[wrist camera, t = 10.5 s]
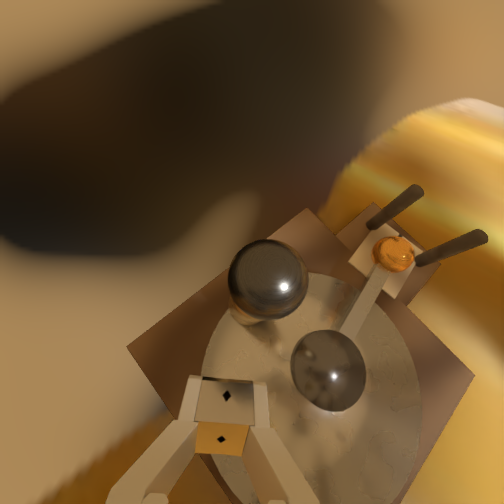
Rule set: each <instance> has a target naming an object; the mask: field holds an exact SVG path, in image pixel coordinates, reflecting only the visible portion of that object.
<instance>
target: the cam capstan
mask: <svg viewBox="0 0 504 504" xmlns="http://www.w3.org/2000/svg"><path fill="white" fill-rule="evenodd" d="M414 256H415V253H414V249H413V247H412V245H411V244H410V243H409V242H408V241H407V240H405V239H404V238H401V237H398V236H387V237H384V238H382V239H380V240H379V241H377V242H376V243H375V244H374V246H373V248H372V251H371V258H372V261H373V263H374V265H373V267H372V268H371V270H370V272H369V273H368V275H367V277H366V278H365V280H364V282H363V284H362V285H361V287H360V289H359V290H358V289H357V288H355V287H353V286H352V285H350V284H348V283H346V282H344V281H341V280H339V279H336V278H333V277H331V276H326V275H322V274H317V273H308V270H307V267H306V264H305V262H304V260H303V258H302V257H301V256H300V254H299V253H298V252H297V251H296V250H295V249H294V248H293V247H291V246H290V245H288V244H286V243H284V242H281V241H278V240H273V239H263V240H257V241H254V242H252V243H250V244H248V245H246V246H245V247H243V248H242V249H241V250H240V251H239V252H238V253H237V254H236V255H235V257H234V259H233V260H232V262H231V265H230V267H229V271H228V288H229V292H230V299H229V309H228V310H227V311H226V313H225V314H224V315H223V317H222V318H221V320H220V321H219V323H218V325H217V327H216V328H215V330H214V332H213V334H212V336H211V339H210V342H209V344H208V347H207V349H206V353H205V357H204V361H203V365H202V371H201V376H205V377H214V378H222V379H237V380H249V381H256V382H265V383H266V386H267V398H268V411H269V423H270V428H274V429H275V431H276V433H277V434H278V436H279V437H280V439H281V441H282V442H283V444H284V445H285V447H286V449H287V450H288V452H289V453H290V455H291V457H292V458H293V460H294V462H295V463H296V465H297V466H298V468H299V470H300V471H301V473H302V474H303V476H304V478H305V479H306V481H307V482H308V484H309V486H310V487H311V489H312V490H313V492H314V494H315V495H316V497H317V499H318V500H319V502H320V504H391V503H392V502H393V500H394V499H395V498H396V497H397V496H398V494H399V493H400V491H401V489H402V488H403V486H404V484H405V483H406V481H407V479H408V477H409V475H410V472H411V470H412V468H413V465H414V462H415V459H416V455H417V452H418V449H419V443H420V437H421V431H422V400H421V392H420V386H419V380H418V376H417V373H416V369H415V365H414V363H413V360H412V357H411V355H410V352H409V350H408V348H407V346H406V344H405V342H404V340H403V338H402V336H401V334H400V333H399V331H398V330H397V328H396V327H395V325H394V324H393V322H392V321H391V320H390V318H389V317H388V316H387V315H386V313H385V312H384V311H383V310H382V309H381V308H380V307H379V306H378V305H377V304H376V303H375V300H376V298H377V297H378V295H379V293H380V291H381V289H382V287H383V286H384V284H385V282H386V280H387V278H388V276H389V274H390V273H399V272H402V271H404V270H406V269H407V268H409V267H410V266H411V264H412V263H413V261H414ZM211 456H212V458H213V460H214V462H215V464H216V466H217V468H218V470H219V472H220V474H221V476H222V477H223V479H224V480H225V482H226V483H227V485H228V486H229V488H230V489H231V491H232V492H233V493H234V494H235V495H236V496H237V497H238V498H239V500H240V501H241V502H242V503H243V504H260V502H259V499H258V497H257V494H256V492H255V489H254V487H253V485H252V482H251V480H250V477H249V475H248V472H247V470H246V467H245V465H244V462H243V460H242V456H233V455H223V454H211Z"/></svg>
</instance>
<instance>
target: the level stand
mask: <svg viewBox="0 0 504 504" xmlns="http://www.w3.org/2000/svg"><path fill="white" fill-rule="evenodd" d="M423 195H424V191H423V189H422V188H421V187H420V186H418V185H415V184H414V185H411V186H410V187H409V188H408V189H406V190H405V191H404V192H403V193H401V194H400V195H399V196H398V197H397V198H395V199H394V200H393V201H392V202H390V203H389V204H388V205H387V206H386V207H384V208H383V209H381V208H380V207H378V206H377V205H376V204H375V203H374V202H373V203H372V204H371V205H369V206H368V207H367V208H366V209H365V210H364V211H363V212H361V213H360V214H359V215H358V216H357V217H356V218H355V219H354V220H352V221H351V222H350V223H349V224H348V225H347V226H346V227H344V228H343V229H342V230H341V231H340V232H339V233H338V234H336V235H334V234H333V233H332V232H331V231H330V230H329V229H328V228H327V227H326V226H325V225H324V224H323V223H322V222H321V221H320V220H319V219H318V218H317V217H316V216H315V215H314V214H313V213H312V212H311V211H310V210H309V209H308V208H306V209H304V210H303V211H302V212H300V213H299V214H298V215H296V216H295V217H294V218H292V219H291V220H290V221H289V222H287V223H286V224H285V225H283V226H282V227H281V228H280V229H278V230H277V231H276V232H274V233H273V234H272V235H270V236H269V237H268V238H267V239H273V240H278V241H281V242H284V243H286V244H288V245H290V246H291V247H293V248H294V249H295V250H296V251H297V252H298V253H299V254H300V256H301V257H302V258H303V260H304V262H305V264H306V267H307V270H308V273H317V274H322V275H326V276H331V277H333V278H336V279H339V280H341V281H344V282H346V283H348V284H350V285H352V286H353V287H355V288H357V289H358V290H359V289H360V287H361V285H362V284H363V282H364V280H365V278H366V277H367V275H368V273H369V272H370V270H371V268H372V267H373V265H374V263H373V261H372V258H371V251H372V248H373V246H374V244H375V243H376V242H377V241H379V240H380V239H382V238H384V237H387V236H398V237H401V238H404V239H405V240H407V241H408V242H409V243H410V244H411V245H412V247H413V249H414V253H415V256H414V261H413V263H412V264H411V266H410V267H409V268H407V269H406V270H404V271H402V272H399V273H390V274H389V276H388V278H387V280H386V282H385V284H384V286H383V287H382V289H381V291H380V293H379V295H378V297H377V298H376V300H375V303H376V304H377V305H378V306H379V307H380V308H381V309H382V310H383V311H384V312H385V313H386V315H387V316H388V317H389V318H390V320H391V321H392V322H393V324H394V325H395V327H396V328H397V330H398V331H399V333H400V334H401V336H402V338H403V340H404V342H405V344H406V346H407V348H408V350H409V352H410V355H411V357H412V360H413V363H414V365H415V369H416V373H417V376H418V380H419V386H420V392H421V400H422V431H421V437H420V443H419V449H418V452H417V455H416V459H415V462H414V465H413V468H412V470H411V472H410V475H409V477H408V479H407V481H406V483H405V484H404V486H403V488H402V489H401V491H400V493H399V494H398V496H397V497H396V498H395V499H394V500H393V502H392V503H391V504H400V502H401V501H402V499H403V497H404V496H405V494H406V492H407V491H408V489H409V487H410V485H411V484H412V482H413V480H414V479H415V477H416V475H417V473H418V472H419V470H420V468H421V467H422V465H423V463H424V462H425V460H426V458H427V456H428V455H429V453H430V451H431V450H432V448H433V446H434V445H435V443H436V441H437V439H438V438H439V436H440V434H441V433H442V431H443V429H444V427H445V426H446V424H447V422H448V421H449V419H450V417H451V416H452V414H453V412H454V410H455V409H456V407H457V405H458V404H459V402H460V400H461V399H462V397H463V395H464V393H465V392H466V390H467V388H468V387H469V385H470V383H471V381H472V380H473V378H474V376H475V375H474V374H473V373H472V372H471V371H470V370H469V369H468V368H467V367H466V366H465V365H464V364H463V363H462V362H461V361H460V360H459V359H458V358H457V357H456V356H455V355H454V354H453V353H452V352H451V351H450V350H449V349H448V348H447V347H446V346H445V345H444V344H443V343H442V342H441V341H440V340H439V339H438V338H437V337H436V336H435V335H434V334H433V333H432V332H431V331H430V330H429V329H428V328H427V327H426V326H425V325H424V324H423V323H422V322H421V321H420V320H419V319H418V318H417V317H416V316H415V315H414V314H413V313H412V312H411V311H410V310H409V309H408V308H407V307H406V306H407V305H408V304H409V303H410V302H411V300H412V299H413V298H414V297H415V295H416V294H417V293H418V292H419V291H420V289H421V288H422V287H423V286H424V284H425V283H426V282H427V281H428V279H429V278H430V277H431V276H432V275H433V273H434V272H435V271H436V270H437V268H438V267H439V266H440V265H441V264H440V263H439V262H438V261H440V260H442V259H445V258H448V257H450V256H453V255H456V254H458V253H461V252H464V251H466V250H469V249H472V248H474V247H477V246H480V245H482V244H485V243H487V242H488V236H487V234H486V233H485V232H484V231H482V230H480V229H476V230H473V231H471V232H469V233H466V234H464V235H462V236H460V237H457V238H455V239H453V240H451V241H448V242H446V243H444V244H442V245H439V246H437V247H435V248H433V249H430V250H428V251H426V250H425V249H424V248H423V247H422V246H421V245H420V244H419V243H418V242H417V241H415V240H414V239H413V238H412V237H411V236H410V235H409V234H408V233H407V232H406V231H405V230H403V229H402V228H401V227H400V226H399V225H398V224H397V223H396V222H395V221H394V220H393V219H392V218H393V217H395V216H396V215H397V214H399V213H400V212H402V211H403V210H404V209H406V208H407V207H408V206H410V205H411V204H413V203H414V202H415V201H417V200H418V199H420V198H421V197H422V196H423ZM228 271H229V268H228V269H226V270H225V271H224V272H222V273H221V274H220V275H219V276H217V277H216V278H215V279H213V280H212V281H211V282H209V283H208V284H207V285H206V286H204V287H203V288H202V289H201V290H199V291H198V292H196V293H195V294H194V295H193V296H191V297H190V298H189V299H187V300H186V301H185V302H184V303H182V304H181V305H180V306H179V307H177V308H176V309H175V310H173V311H172V312H171V313H169V314H168V315H167V316H165V317H164V318H163V319H162V320H160V321H159V322H158V323H156V324H155V325H154V326H153V327H151V328H150V329H149V330H147V331H146V332H145V333H143V334H142V335H141V336H139V337H138V338H137V339H136V340H134V341H133V342H132V343H130V344H129V345H128V346H127V348H128V350H129V352H130V353H131V355H132V356H133V358H134V359H135V360H136V362H137V363H138V365H139V366H140V368H141V369H142V371H143V372H144V374H145V375H146V377H147V378H148V379H149V381H150V383H151V384H152V386H153V387H154V388H155V390H156V392H157V393H158V394H159V396H160V397H161V399H162V400H163V402H164V403H165V405H166V406H167V408H168V409H169V411H170V412H171V414H172V415H173V417H174V418H175V420H178V416H179V412H180V408H181V404H182V400H183V396H184V393H185V389H186V385H187V381H188V378H189V376H190V375H197V376H201V371H202V365H203V361H204V357H205V353H206V349H207V347H208V344H209V342H210V339H211V336H212V334H213V332H214V330H215V328H216V327H217V325H218V323H219V321H220V320H221V318H222V317H223V315H224V314H225V313H226V311H227V310H228V309H229V299H230V292H229V288H228ZM198 454H199V455H200V457H201V458H202V460H203V461H204V463H205V464H206V466H207V467H208V469H209V470H210V471H211V473H212V474H213V476H214V477H215V479H216V480H217V482H218V483H219V485H220V486H221V488H222V489H223V491H224V492H225V494H226V495H227V497H228V498H229V500H230V501H231V503H232V504H243V503H242V502H241V501H240V500H239V498H238V497H237V496H236V495H235V494H234V493H233V492H232V491H231V489H230V488H229V486H228V485H227V483H226V482H225V480H224V479H223V477H222V476H221V474H220V472H219V470H218V468H217V466H216V464H215V462H214V460H213V458H212V456H211V454H207V453H198Z"/></svg>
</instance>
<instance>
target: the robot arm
mask: <svg viewBox="0 0 504 504" xmlns="http://www.w3.org/2000/svg"><path fill="white" fill-rule="evenodd" d="M195 453H207V454H223V455H233V456H242V460H243V462H244V465H245V467H246V470H247V472H248V475H249V477H250V480H251V482H252V485H253V487H254V489H255V492H256V494H257V497H258V499H259V502H260V504H320V502H319V500H318V499H317V497H316V495H315V494H314V492H313V490H312V489H311V487H310V486H309V484H308V482H307V481H306V479H305V478H304V476H303V474H302V473H301V471H300V470H299V468H298V466H297V465H296V463H295V462H294V460H293V458H292V457H291V455H290V453H289V452H288V450H287V449H286V447H285V445H284V444H283V442H282V441H281V439H280V437H279V436H278V434H277V433H276V431H275V429H274V428H270V423H269V411H268V398H267V386H266V383H265V382H256V381H249V380H237V379H222V378H214V377H205V376H197V375H190V376H189V378H188V381H187V385H186V389H185V393H184V396H183V400H182V404H181V408H180V412H179V416H178V420H173V421H172V422H171V423H170V424H169V425H168V426H167V427H166V428H165V430H164V431H163V432H162V433H161V434H160V435H159V436H158V437H157V438H156V439H155V441H154V442H153V443H152V444H151V445H150V446H149V447H148V448H147V449H146V451H145V452H144V453H143V454H142V455H141V456H140V457H139V458H138V459H137V460H136V462H135V463H134V464H133V465H132V466H131V467H130V468H129V469H128V470H127V472H126V473H125V474H124V475H123V476H122V477H121V478H120V479H119V480H118V481H117V483H116V484H115V485H114V486H113V487H112V488H111V490H110V493H109V495H108V498H107V500H106V503H105V504H168V502H169V500H168V498H167V496H168V494H169V493H170V491H171V490H172V488H173V487H174V485H175V484H176V482H177V481H178V479H179V478H180V476H181V475H182V473H183V472H184V470H185V469H186V467H187V466H188V464H189V462H190V461H191V459H192V458H193V456H194V454H195Z"/></svg>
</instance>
